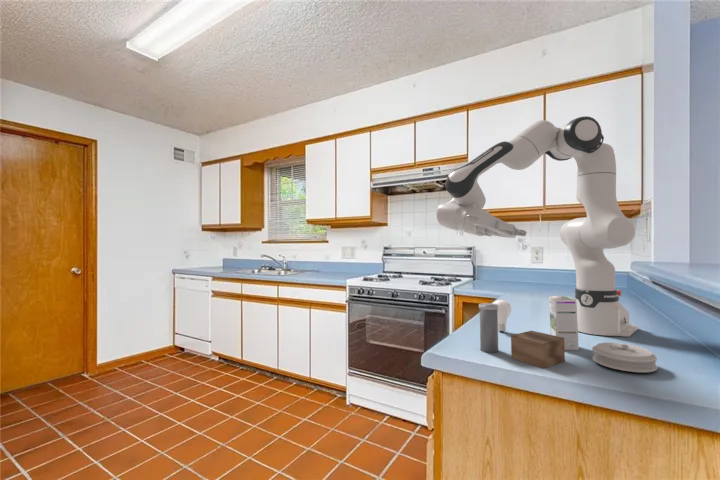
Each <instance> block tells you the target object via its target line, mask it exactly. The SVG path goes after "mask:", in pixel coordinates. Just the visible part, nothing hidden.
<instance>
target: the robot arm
mask: <svg viewBox="0 0 720 480" xmlns="http://www.w3.org/2000/svg"><path fill="white" fill-rule="evenodd" d="M604 138H605V137H604V135H603V131H602V126H601V125H600V124H599V122H598V121H597V120H596V119H595V118H593V117H591V116H579V117H576V118H574V119H572V120H570V121H569V122H568V123H566V124H564V125H563V126H562V127H557V126H555V125H554V123H552V122H551V121H549V120H545V119H541V120H537V121H536V122H534V123H532V124H531V125H529V126H528V127H526V128H525V129H523V130H522V131H521V132H519V134H517V135H516V136H514V138H513V139H511V140H510V141H500V142H498V143H496V144H495V145H493V146H491V147H490V148H488V149H486V150H485V151H484V152H482V153H481V154H479V155H478V156H476V157H475V158H473V159H472V160H471V161H469V162H467V163H466V164H464V165H462V166H460V167H458V168H455V169H454V170H453V171H451V172H450V173H449V174H448V176H447V177H446V181H445V184H444V187H445V189H446V191H447V193H448V194H449V195H450V196H451V197H452V199H450V201H448V202H446V203H441V204H440V205H439V206H438V207H437V210H436V219H437V221H438V223H439V224H440V225H441V226H443V227H445V228H448V229H451V230H454V231H463V232H465V233H466V234H471V235H475V236H478V237H481V236H483V237H484V236H487V237H492V236H495V237H503V238H508V239H510V238H511V239H514V238H516V237H517V236H519V237H520V236H521V237H526V236H527V231H526V230H525V229H520V228H519V229H518V227H516V225H515V224H513V223H508V222H506V221H504V220H501V219H500V218H498V217H496V216H494V215H492V214H491V213H490V211H488V209H483V208H484V206H485V204H486V197H485V194H484V192H483V190H482V188H481V186H480V184H479V183H478V178H479V177H480V176H482V175H483V174H484V173H485V172H487V171H488V170H490V169H491V168H493V167H494V166H496V165H497V164H503V165H504V166H506V168H507V167H508V168H509V169H512V170H517V171H522V170H525V169H528V168H529V167H531V166H532V165H533V164H534V163H535V162H537V161H538V160H539V159H540V158H541V157H542V156H543V155H546V156H548V157H550V158H551V159H553V160H555V161H560V162H562V161H564V162H565V161H568V160H570V159H571V160H572V158H573V159H574V160H575V163H576V165H577V174H576V194H575V195H576V200H577V202H579V203H580V204H582V206H583V207H584V209H585V213H586V217H585V216H584V217H576V218H573V219H571V220H568V221H567V222H565V223H564V224H562V225H561V228H560V231H559V236H560V240H561V241H562V242H563V244H565V246H567V248H568V249H569V251H570V254H571V255H572V256H571V257H572V259H573V263H574V268H575V280H576V281H575V282H576V283H575V285H576V286H575V289H574V299H576V300H577V321H578V333H579V332H581V333H584V334H590V335H596V336H605V337H606V336H610V337H611V336H612V337H613V336H614V337H626V338H627V337H630V336H632V335H633V334H634V333H635V332H636V331H638V330H639V326H638V325H635V324H633V323H632V324H631V323H630V313H629V310H627V309H626V308H625V307H624V306H623V305H622V304H621V302H620V299H619V297H621V296H622V290H620V289H616V287H617V286H616V268H615V266H614V264H613V263H612V262H611V261H609V260H608V258H607V257H606V255H605V253H604V249H610V250H611V249H617V248H620V247H624V246H627V245H629V244H630V243H631V242H632V241H633V240H634V238H635V235H636V234H635V233H636V232H635V231H636V229H635V225H634V223H633V221H632V220H630V219H629V217H627V216H626V215H625V214H624V213H623V212H622V210H621V208H620V205H619V203H618V200H617V199H618V198H617V161H616V155H615V150H614V148H613V146H612V145H610V144H608V143H604Z"/></svg>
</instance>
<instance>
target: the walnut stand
mask: <svg viewBox="0 0 720 480" xmlns="http://www.w3.org/2000/svg"><path fill="white" fill-rule="evenodd" d="M510 343H511V344H510V347H511V348H510V349H511V350H510V353H511V359H514V360H517V361H520V362H523V363H527V364H529V365H532V366H535V367H540V368H541V369H546V368H549V367H552V366H554V365H559V364H561V363H563V362H565V360H566V359H565V357H566V356H565V351H566V350H565V349H564V338H563V337H558V336H554V335H551V334H549V333H544V332H540V331H535V330H528V331H524V332H519V333H516V334H512V335H510Z"/></svg>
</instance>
